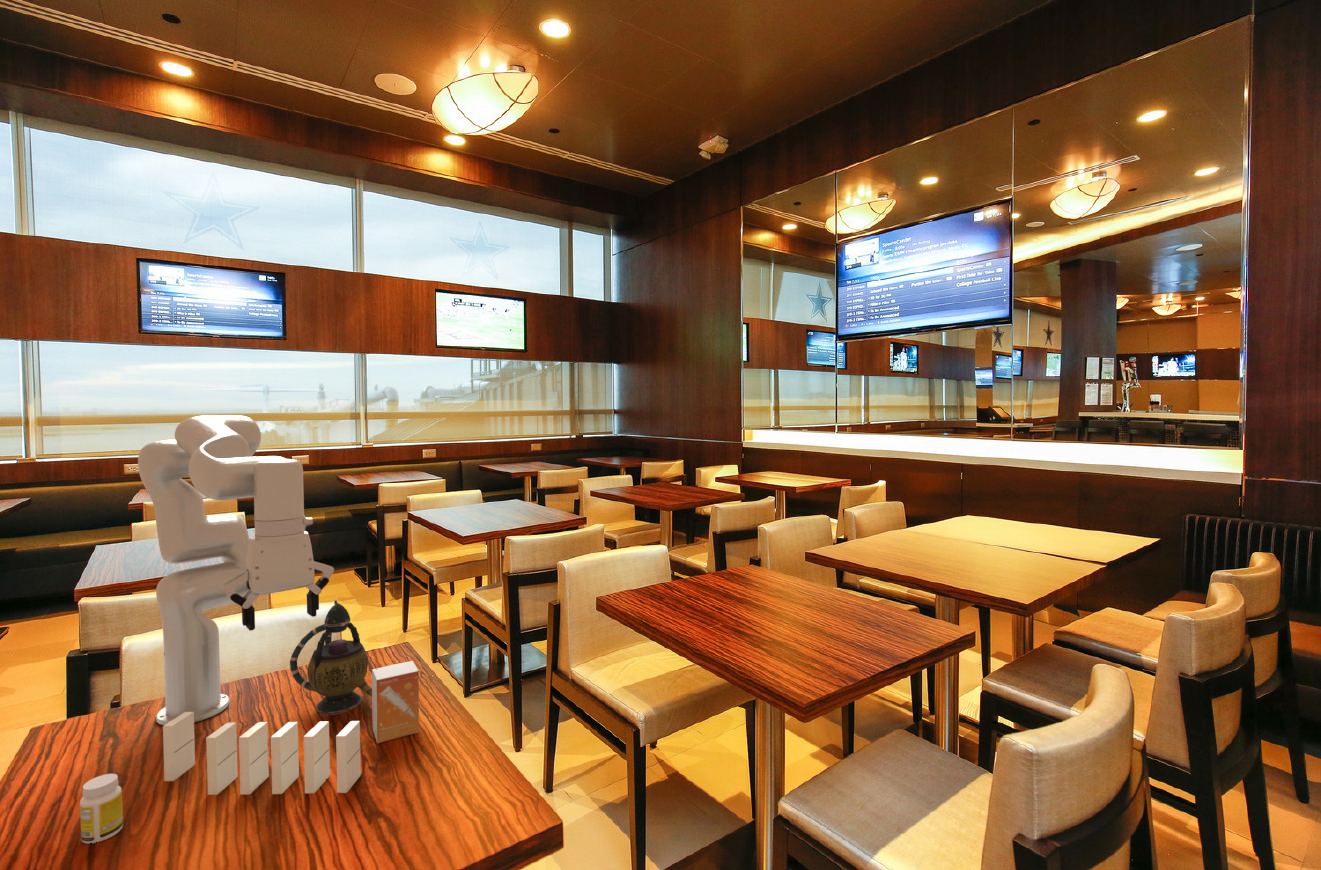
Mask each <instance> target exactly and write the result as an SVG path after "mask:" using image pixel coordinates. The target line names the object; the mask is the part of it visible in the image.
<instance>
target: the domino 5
mask: <svg viewBox="0 0 1321 870" xmlns="http://www.w3.org/2000/svg"><path fill="white" fill-rule="evenodd" d="M330 751H331V750H330V720H329V721H326V720H325V721H321V720H320V721H318V722H317V723H316V725H314V727H312V728H311V729H310V730H309V731H308V732H307V733H305V735H304V736H303V760H304V763H303V764H304V765H303V766H304V768H303V769H304V794H316V792H317V791H318V790H319V789H320V787H322V786H323V784H324V783H325V782H326V781H327V780H328V779H329V778H330V776H331V763H330V761H331V758H330V757H331V756H330V754H331V753H330ZM326 779H327V780H326Z"/></svg>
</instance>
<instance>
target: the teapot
mask: <svg viewBox="0 0 1321 870" xmlns="http://www.w3.org/2000/svg"><path fill="white" fill-rule="evenodd" d="M347 629H349V631H350V633H351V637H352V640H347V639H336V640H332V639H333V638H332V636H333V634H335V633H338V634H339V633H342V632H345V631H346V630H347ZM321 632H323V633H322V635H321V637H320V639H319V641H318V642H317V646H316V649H315V650H314V651H313V653H312V655H311V657H310V660H309V663H308V666H307V675H306V676H307V679H305V678H304V677H303V676H302V674H301V673H300V670H299V667H298V659H299V656H300V654H301V652H302V651H303V649H304V647H305V645H306V644H307V643H308V642H310V640H311V639H312V638H313V637H314V636H316V635H317V634H319V633H321ZM368 657H369V656H368V654H367V651H366V649H365V646H364V645H363V643H362V642H361V638H360V634H359V631H358V630H357V627H356V626H355V625H354V624H353V623H352V622H351V615H350V613H349V611H348V610H347V608H346V607H344V605H343V604H341V603H339V602H338V600H333V606H331V607H330V609H329V610H328V612H327V614H326V616H325V619H324V623H323V624H321V625H318V626H317V627H315V628H313V629H311V630H310V631H309V632H308V633H307V634H306V635H304V636H303V637H302V638H301V639H300V641H299V642H298V643H297V645H296V647H295V648H294V650H293V652H292V654H291V656H290V661H289V668H290V671H291V675H292V677H293V679H294V681H296V683H297V684H299V685H300V686H302V687H303V688H305V689H306V690H307V691H311V692H316V693H317V694H319V695H320V696H322V697H323V698H322V699H321V700H320V701H318V703H317V704H316V707H315V711H316V710H317V711H316V713H318V712H319V713H318V714H320V713H321V714H320V715H325V714H327V715H326V716H329V715H328V714H330V716H331V715H337V714H343V713H345V712H346V713H347V712H349V711H351V710H353V709H355V708H356V707H358V706H359V705H360V704H361V703H362V700H363V699H362V696H361V694H359V693H357V692H355V690H356V689H357V688H359V689H360V690H361V691H363V692H364V693H365V694H366V695H369V696H370V697H371V698H372V686H370V685H369V684H368V683H367V682H366V679H365V677H366V675H367V673H368V667H369V666H368V665H369V658H368Z"/></svg>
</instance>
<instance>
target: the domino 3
mask: <svg viewBox="0 0 1321 870" xmlns="http://www.w3.org/2000/svg"><path fill="white" fill-rule="evenodd" d="M238 746H239V750H238V751H239V782H240V783H239V788H240V795H251V794H252V793H253V792H254V791H255V790H257V789H258V788H259V786H260V785H262V784H263V783H264V782H265V781H266V780H267V779H268V778H269V777H270V775H269V737H268V721H265V722H264V721H261V722H256V723H255V724H254V725H253V726H252V727H250V728H249V729H248V730H247V731H245V732H243V734H241V735H240V736H238Z"/></svg>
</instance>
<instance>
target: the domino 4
mask: <svg viewBox="0 0 1321 870" xmlns="http://www.w3.org/2000/svg"><path fill="white" fill-rule="evenodd" d="M298 726H299V725H298V721H288V722H287V723H286V724H284V725H283V726H282V727H281V728H280V729H279V730H278V731H276V732H275V733H274V734H272V735H271V737H270V749H271V751H270V753H271V755H270V756H271V758H270V759H271V790H272V793H271V794H272V795H282V794H283V793H285V791H286V790H287V789H288V788H289V787H291V785H292V784H293V783H294V782H295V781H296V780H297V779H298V778H299V777H300V770H299V769H300V768H299V767H300V765H299V757H300V756H299V730H298V729H299V728H298Z"/></svg>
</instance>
